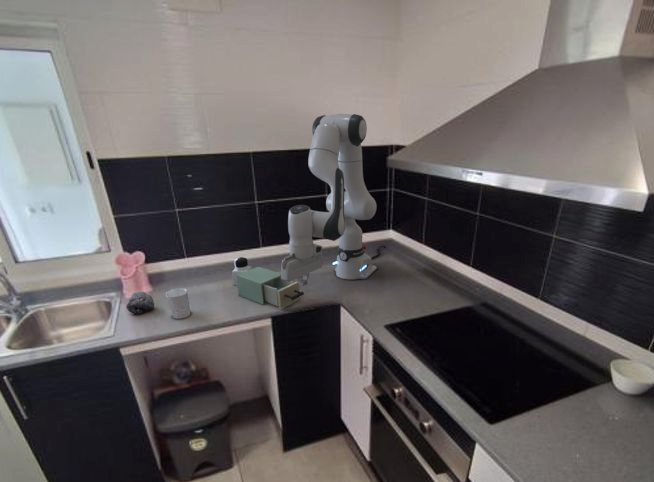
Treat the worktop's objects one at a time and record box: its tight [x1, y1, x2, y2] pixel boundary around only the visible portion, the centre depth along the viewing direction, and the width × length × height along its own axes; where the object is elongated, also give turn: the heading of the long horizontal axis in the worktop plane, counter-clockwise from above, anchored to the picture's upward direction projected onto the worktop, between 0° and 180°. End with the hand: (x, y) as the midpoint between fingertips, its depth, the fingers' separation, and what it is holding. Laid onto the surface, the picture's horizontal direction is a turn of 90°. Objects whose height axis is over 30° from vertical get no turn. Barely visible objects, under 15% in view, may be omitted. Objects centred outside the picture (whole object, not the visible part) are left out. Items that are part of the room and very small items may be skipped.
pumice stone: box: [125, 291, 156, 315], centre depth 155 cm, size 10×8×10 cm
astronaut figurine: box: [231, 256, 253, 286], centre depth 177 cm, size 7×7×12 cm
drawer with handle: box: [262, 277, 305, 309], centre depth 159 cm, size 19×11×8 cm, turn 53°
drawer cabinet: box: [236, 266, 281, 305], centre depth 166 cm, size 16×13×10 cm
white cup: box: [165, 287, 191, 320], centre depth 150 cm, size 8×8×10 cm
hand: (303, 284), depth 148 cm, fingers closed
